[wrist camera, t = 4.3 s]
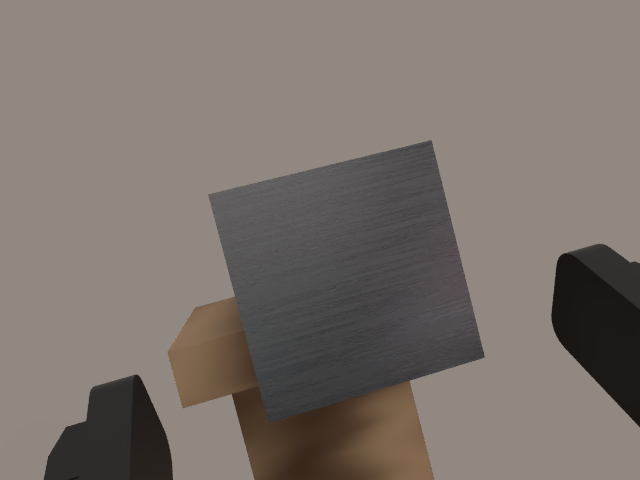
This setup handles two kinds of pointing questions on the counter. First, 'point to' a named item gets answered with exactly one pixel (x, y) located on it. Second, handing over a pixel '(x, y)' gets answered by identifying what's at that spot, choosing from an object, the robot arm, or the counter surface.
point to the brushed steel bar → (347, 278)
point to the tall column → (303, 429)
